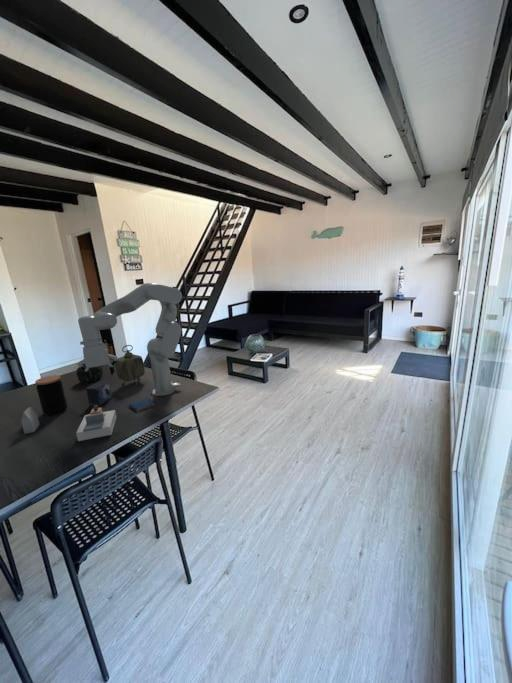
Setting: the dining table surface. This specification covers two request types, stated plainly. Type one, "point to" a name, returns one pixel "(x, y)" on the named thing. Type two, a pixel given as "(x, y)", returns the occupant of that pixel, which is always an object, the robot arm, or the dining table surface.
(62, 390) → the coffee jar
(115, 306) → the robot arm
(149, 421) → the dining table surface
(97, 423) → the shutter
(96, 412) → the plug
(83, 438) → the socket block
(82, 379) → the squash
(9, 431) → the dining table surface
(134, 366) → the tabletop clock
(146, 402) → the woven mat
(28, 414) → the grey faceted stone
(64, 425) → the dining table surface
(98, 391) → the small box
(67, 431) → the dining table surface
